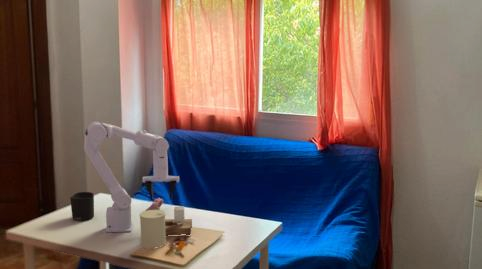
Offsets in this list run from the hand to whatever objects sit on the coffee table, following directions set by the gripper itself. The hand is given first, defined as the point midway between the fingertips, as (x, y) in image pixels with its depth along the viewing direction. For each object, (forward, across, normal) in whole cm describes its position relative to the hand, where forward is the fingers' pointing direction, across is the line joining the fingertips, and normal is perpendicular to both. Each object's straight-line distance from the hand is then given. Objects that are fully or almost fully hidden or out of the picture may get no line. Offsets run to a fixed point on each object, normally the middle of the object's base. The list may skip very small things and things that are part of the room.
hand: (161, 198), depth 205 cm
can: (+10, 0, -22) cm, 24 cm away
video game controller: (+10, -5, +14) cm, 18 cm away
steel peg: (+10, +8, -10) cm, 16 cm away
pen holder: (+10, -34, +7) cm, 36 cm away
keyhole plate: (+10, +6, -10) cm, 15 cm away
